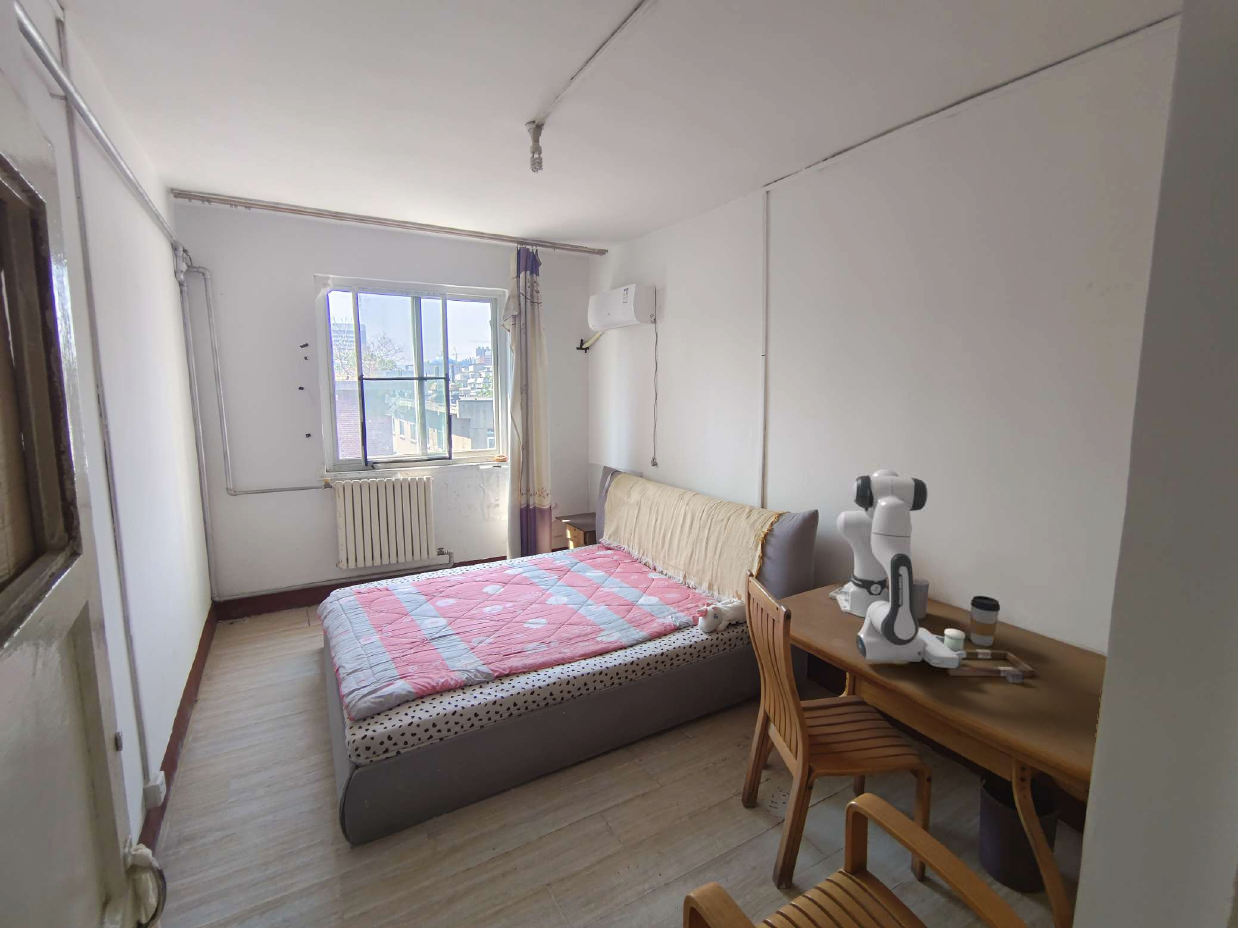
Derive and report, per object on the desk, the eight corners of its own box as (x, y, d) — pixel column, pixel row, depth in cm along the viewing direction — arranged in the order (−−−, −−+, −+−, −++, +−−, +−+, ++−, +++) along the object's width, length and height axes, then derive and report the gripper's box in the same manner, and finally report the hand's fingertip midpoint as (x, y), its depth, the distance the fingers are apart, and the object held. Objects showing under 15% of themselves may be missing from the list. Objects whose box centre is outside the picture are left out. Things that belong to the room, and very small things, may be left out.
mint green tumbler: (938, 660, 179) (941, 628, 178) (955, 661, 179) (958, 628, 177) (947, 669, 174) (950, 636, 172) (965, 669, 174) (968, 636, 172)
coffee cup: (966, 634, 198) (971, 593, 195) (995, 640, 193) (1000, 598, 191) (966, 644, 191) (971, 601, 188) (996, 650, 186) (1001, 606, 184)
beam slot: (927, 655, 183) (928, 646, 182) (1006, 656, 182) (1007, 647, 182) (957, 682, 166) (958, 672, 166) (1043, 683, 166) (1044, 673, 166)
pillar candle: (891, 611, 217) (894, 573, 215) (909, 606, 221) (912, 570, 219) (914, 621, 209) (917, 582, 206) (932, 616, 213) (935, 578, 210)
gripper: (929, 653, 165) (977, 653, 165) (896, 622, 185) (939, 623, 185) (928, 673, 166) (975, 673, 166) (895, 641, 186) (937, 641, 186)
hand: (956, 646), depth 176 cm, fingers open, 8 cm apart
